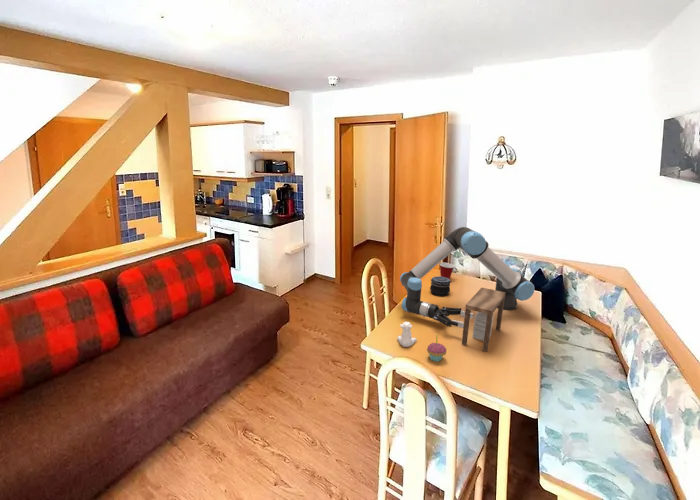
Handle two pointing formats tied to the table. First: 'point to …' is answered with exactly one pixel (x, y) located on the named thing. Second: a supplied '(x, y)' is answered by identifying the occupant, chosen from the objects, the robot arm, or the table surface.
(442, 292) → the container
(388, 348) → the table surface
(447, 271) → the plastic cup
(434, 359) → the cupcake
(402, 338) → the seated beast figurine
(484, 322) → the supplement box
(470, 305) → the walnut stool
